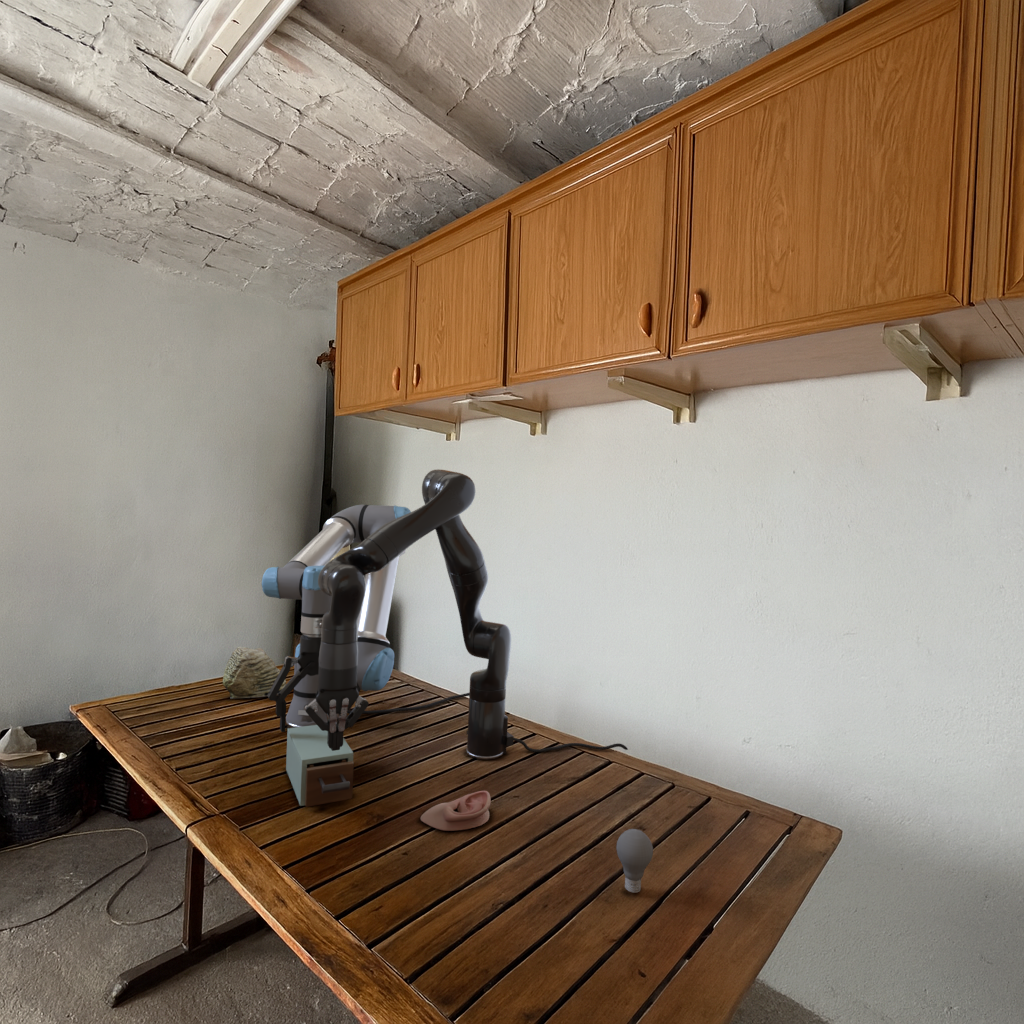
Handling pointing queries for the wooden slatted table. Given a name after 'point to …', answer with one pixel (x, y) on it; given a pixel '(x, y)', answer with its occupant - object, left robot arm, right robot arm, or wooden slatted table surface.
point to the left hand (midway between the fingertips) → (313, 726)
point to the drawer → (328, 782)
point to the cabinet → (309, 754)
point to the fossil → (250, 673)
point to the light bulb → (634, 857)
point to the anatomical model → (459, 812)
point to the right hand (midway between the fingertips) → (335, 748)
